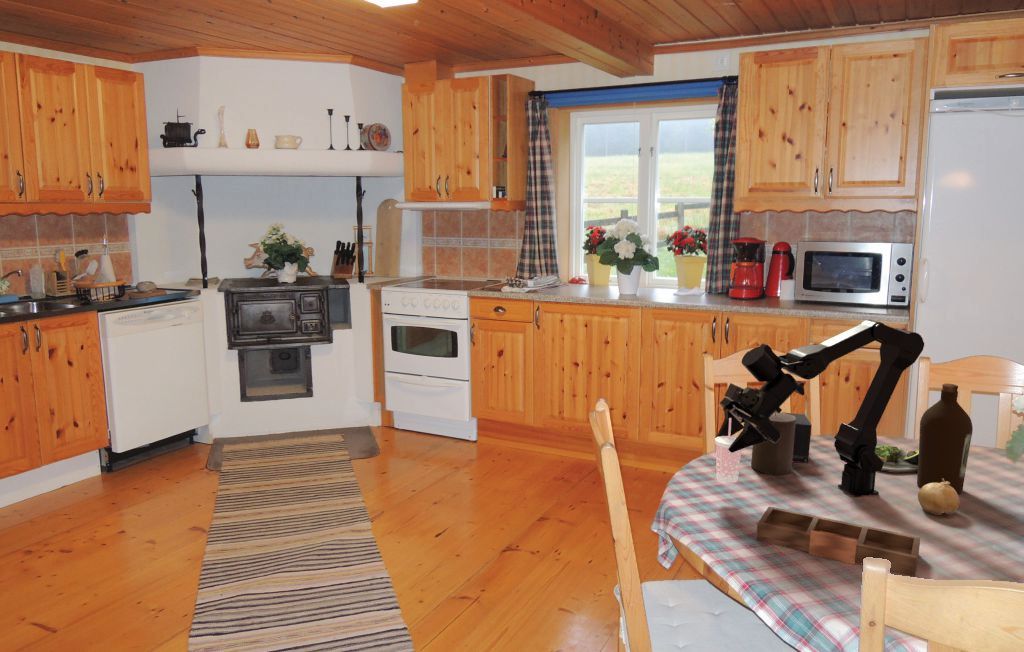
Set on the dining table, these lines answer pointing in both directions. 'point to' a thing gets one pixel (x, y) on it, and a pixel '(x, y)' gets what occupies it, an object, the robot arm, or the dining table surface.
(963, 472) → the olive oil
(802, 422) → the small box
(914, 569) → the wooden compartment tray
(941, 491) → the onion
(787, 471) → the pillar candle
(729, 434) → the beverage cup
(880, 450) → the salad plate
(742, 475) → the dining table surface
